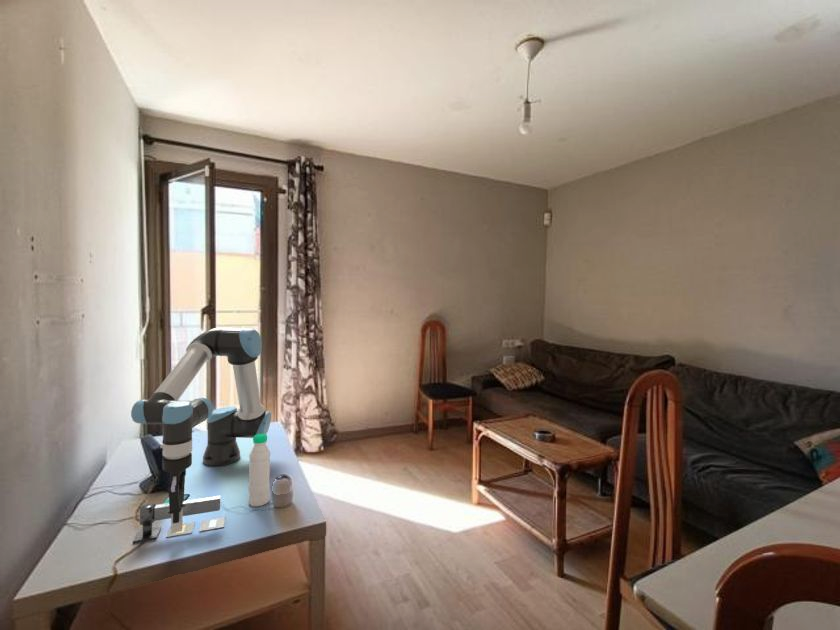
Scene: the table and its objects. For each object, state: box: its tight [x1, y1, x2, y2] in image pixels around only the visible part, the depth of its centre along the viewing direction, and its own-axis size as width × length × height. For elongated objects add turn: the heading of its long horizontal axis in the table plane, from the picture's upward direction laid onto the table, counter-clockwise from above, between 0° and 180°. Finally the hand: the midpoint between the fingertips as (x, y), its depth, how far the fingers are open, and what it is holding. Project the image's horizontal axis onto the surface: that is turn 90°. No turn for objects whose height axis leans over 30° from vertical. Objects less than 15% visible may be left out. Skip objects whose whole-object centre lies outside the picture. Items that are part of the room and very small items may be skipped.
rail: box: [139, 495, 221, 526], centre depth 122 cm, size 4×22×5 cm, turn 112°
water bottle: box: [248, 434, 271, 507], centre depth 140 cm, size 7×7×25 cm
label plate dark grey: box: [198, 516, 226, 533], centre depth 126 cm, size 6×7×1 cm
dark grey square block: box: [132, 523, 162, 545], centre depth 119 cm, size 6×6×4 cm
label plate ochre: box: [165, 521, 196, 539], centre depth 123 cm, size 6×7×1 cm
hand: (176, 530), depth 116 cm, fingers closed
